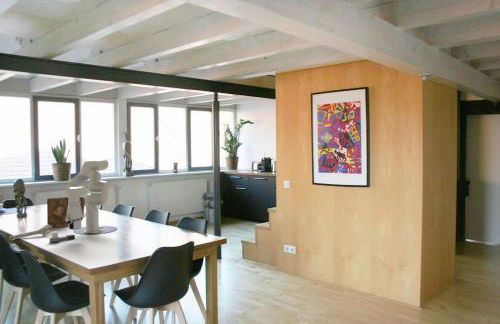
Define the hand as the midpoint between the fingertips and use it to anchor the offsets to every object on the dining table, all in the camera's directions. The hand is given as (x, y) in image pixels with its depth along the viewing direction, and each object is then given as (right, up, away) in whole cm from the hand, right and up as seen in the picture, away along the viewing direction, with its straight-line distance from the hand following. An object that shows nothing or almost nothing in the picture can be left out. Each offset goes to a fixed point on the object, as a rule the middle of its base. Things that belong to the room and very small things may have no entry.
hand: (75, 227), depth 310 cm
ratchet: (-10, -10, +1) cm, 14 cm away
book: (-35, -7, +50) cm, 61 cm away
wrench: (-38, -9, +11) cm, 41 cm away
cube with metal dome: (0, -1, 0) cm, 1 cm away
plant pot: (-46, -4, +115) cm, 124 cm away
